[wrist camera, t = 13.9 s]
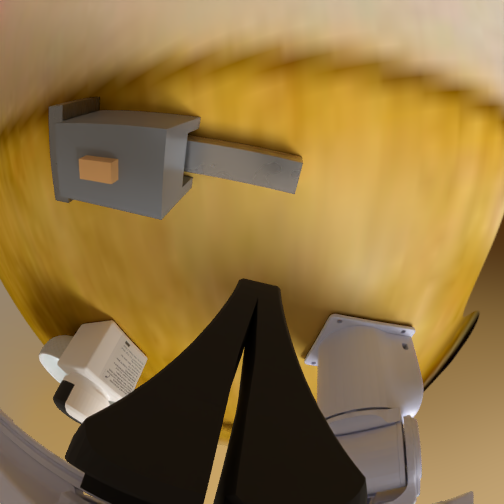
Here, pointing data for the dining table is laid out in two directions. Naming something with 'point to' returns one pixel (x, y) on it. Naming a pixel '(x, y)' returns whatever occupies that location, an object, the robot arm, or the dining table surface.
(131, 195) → the block
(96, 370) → the container
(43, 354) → the cereal bowl
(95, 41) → the dining table surface
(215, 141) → the rail
